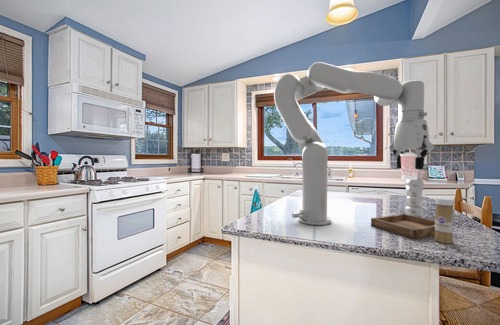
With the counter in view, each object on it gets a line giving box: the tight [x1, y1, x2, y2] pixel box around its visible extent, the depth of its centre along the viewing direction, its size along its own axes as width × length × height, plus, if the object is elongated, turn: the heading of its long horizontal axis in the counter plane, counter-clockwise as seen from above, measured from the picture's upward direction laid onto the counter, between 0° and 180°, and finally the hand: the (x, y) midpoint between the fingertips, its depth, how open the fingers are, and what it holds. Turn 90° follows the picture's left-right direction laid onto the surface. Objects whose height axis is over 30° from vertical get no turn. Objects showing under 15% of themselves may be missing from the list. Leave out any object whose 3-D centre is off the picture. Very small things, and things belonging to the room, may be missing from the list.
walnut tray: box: [370, 213, 435, 241], centre depth 90 cm, size 18×16×3 cm
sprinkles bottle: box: [433, 196, 455, 244], centre depth 78 cm, size 5×5×13 cm
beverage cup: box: [400, 149, 419, 180], centre depth 89 cm, size 6×6×14 cm
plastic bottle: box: [404, 169, 425, 218], centre depth 106 cm, size 6×7×20 cm
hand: (409, 168), depth 89 cm, fingers closed on beverage cup, 6 cm apart
